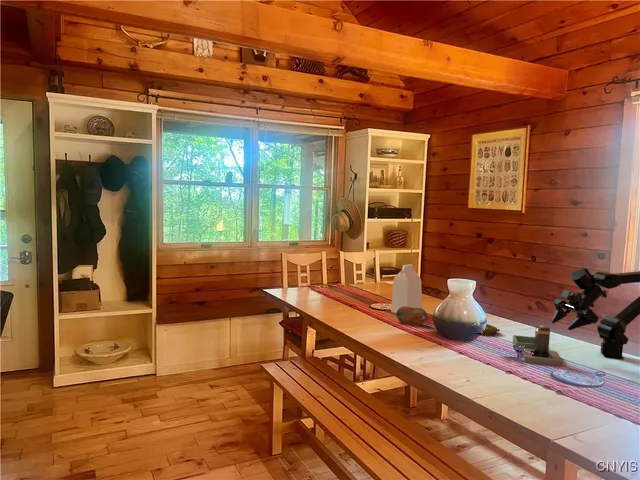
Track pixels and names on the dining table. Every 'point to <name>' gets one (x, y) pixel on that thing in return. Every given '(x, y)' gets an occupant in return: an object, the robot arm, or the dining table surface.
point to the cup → (524, 341)
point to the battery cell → (542, 341)
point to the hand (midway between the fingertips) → (560, 325)
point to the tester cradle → (552, 360)
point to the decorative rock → (490, 330)
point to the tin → (412, 315)
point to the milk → (406, 289)
